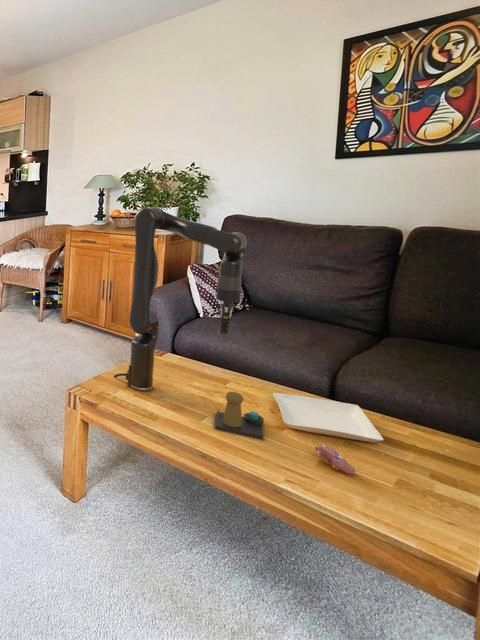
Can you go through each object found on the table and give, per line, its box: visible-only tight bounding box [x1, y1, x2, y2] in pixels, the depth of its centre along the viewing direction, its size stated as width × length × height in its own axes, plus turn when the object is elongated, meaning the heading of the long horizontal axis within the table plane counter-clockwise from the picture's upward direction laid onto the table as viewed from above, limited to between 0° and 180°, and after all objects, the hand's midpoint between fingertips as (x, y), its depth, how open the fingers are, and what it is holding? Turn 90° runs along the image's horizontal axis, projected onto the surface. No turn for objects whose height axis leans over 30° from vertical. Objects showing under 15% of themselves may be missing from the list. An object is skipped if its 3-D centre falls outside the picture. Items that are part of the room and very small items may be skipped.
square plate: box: [272, 392, 384, 443], centre depth 169 cm, size 27×27×4 cm
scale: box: [215, 411, 265, 441], centre depth 167 cm, size 14×13×3 cm
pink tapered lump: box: [314, 443, 356, 475], centre depth 143 cm, size 10×5×7 cm, turn 5°
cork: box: [223, 391, 244, 427], centre depth 166 cm, size 6×6×11 cm
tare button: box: [248, 411, 260, 420], centre depth 167 cm, size 3×3×2 cm
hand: (224, 330), depth 175 cm, fingers open, 8 cm apart
